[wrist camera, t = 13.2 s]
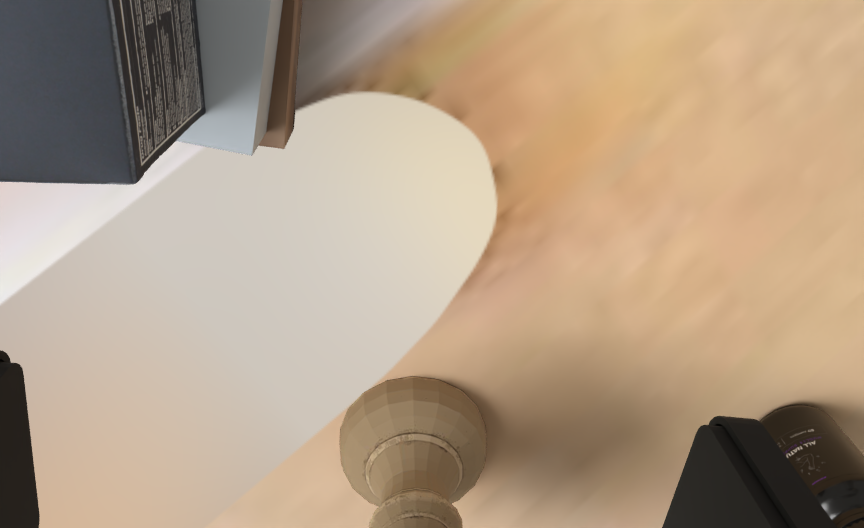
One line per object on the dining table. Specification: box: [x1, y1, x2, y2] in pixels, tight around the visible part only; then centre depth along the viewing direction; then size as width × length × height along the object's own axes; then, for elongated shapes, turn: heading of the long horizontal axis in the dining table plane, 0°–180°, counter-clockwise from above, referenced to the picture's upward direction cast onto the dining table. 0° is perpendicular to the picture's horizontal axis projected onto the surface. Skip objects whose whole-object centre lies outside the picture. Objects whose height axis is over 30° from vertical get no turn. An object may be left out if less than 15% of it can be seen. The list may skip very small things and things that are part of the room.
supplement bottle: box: [760, 405, 864, 528], centre depth 51 cm, size 7×7×12 cm
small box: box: [0, 0, 206, 184], centre depth 29 cm, size 11×6×10 cm, turn 178°
